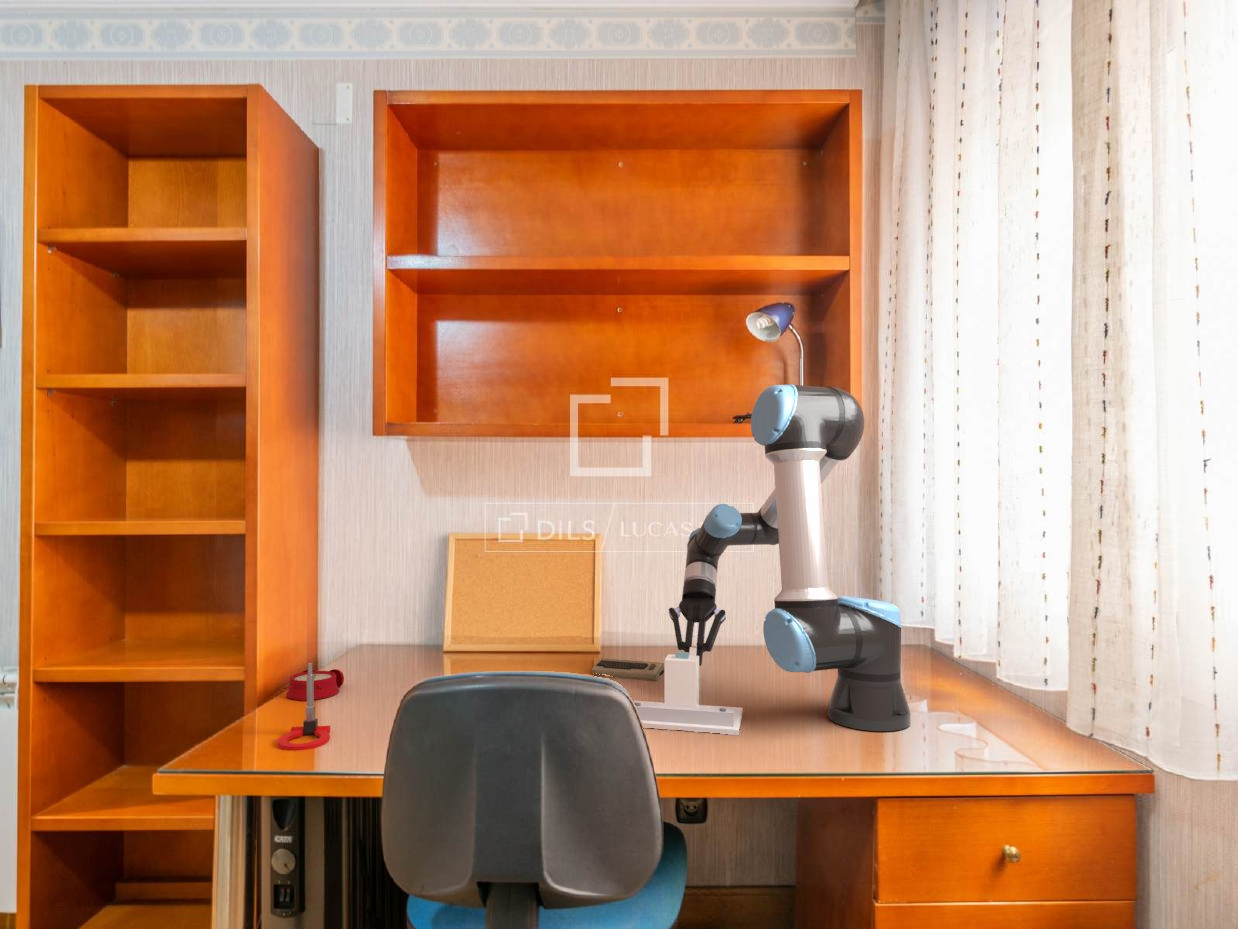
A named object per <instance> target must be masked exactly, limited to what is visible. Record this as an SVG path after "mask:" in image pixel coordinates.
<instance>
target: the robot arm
mask: <svg viewBox="0 0 1238 929" xmlns="http://www.w3.org/2000/svg"><path fill="white" fill-rule="evenodd" d="M750 418H751V419H750V432H751V436H752V437H753V439H754V441H755V442H756V443H757V444H758V445H760V446H763V447H764V455H765V458H766V459H767V460H768V461H769V462H771V463H772V465H773V473H774V489H773V491H772V492H771V493H770V494H769V496H768V497H767V499H766V500H765V502H764V503H763V504H762V505H761V507H760V509H759V510H758V511H757V512H740V511H739V510H738V509H737V508H736V507H734V506H730V505H728V504H727V503H719V504H716V505H715V506H713V508H712V509H711V510H710V511H709V512H708V514H707V515H706V516H705V518H704V520H703V523H702V524H701V526H700V527H699V528H696V529H695V530H692V532H690V535H689V537H688V541H687V545H686V546H687V547H686V561H685V570H684V577H683V587H682V595H681V601H680V602H679V604H678V606H677V607H674V608H673V607H669V608H668V615H669V618H670V619H671V621H672V623H673V628H674V634H675V639H676V646H677V649H678V651H683V652H689V655H693V656H699V667H700V666H702V665H703V654H704V653H705V652H708V653H710V652H712V649H713V647H714V644H715V642H716V640H717V636H718V634H719V631H720V627H721V625H722V624H723V623H724V622H725V621H726V620H727V619H726V618H727V617H726V616H727V615H726V610H725V609H719V608H717V604H716V595H717V594H716V593H717V589H716V588H717V583H718V582H717V580H718V579H717V578H718V568H719V560H720V558H721V556H722V554H723V553H724V552H725V550H726V549H727V548H728V546H753V545H757V546H759V545H770V546H776V545H778V547H779V549H778V550H779V552H778V553H779V566H780V568H779V569H780V579H781V580H780V582H781V589H780V591H779V593H778V594H776V596H775V597H774V599H773V600H774V601H773V602H774V608H773V609H771V610H770V611H768V612H767V613H766V615H765V620H764V621H763V628H762V629H763V630H762V632H763V639H764V643H765V646H766V648H767V651H768V653H769V656H770V657H771V658H772V660H773V661H774V663H775V664H776V665H777V666H778V667H779V668H780V669H782V670H783V671H785V672H789V673H805V674H810V673H812V672H817V671H818V672H820V671H828V670H837V677H836V680H835V683H834V686H833V689H832V693H831V695H830V699H829V702H828V706H827V716H828V718H829V719H830V720H831V721H832V722H833V723H835V724H838V725H840V726H842V727H843V726H844V727H847V728H850V729H856V730H861V731H862V730H863V731H867V732H868V731H869V732H870V731H871V732H893V731H894V732H895V731H901V730H905V729H907V728H908V727H910V726H911V724H912V723H911V722H912V720H911V719H912V718H911V716H912V714H911V709H910V706H909V704H908V699H907V696H906V694H905V690H904V688H903V684H902V681H901V680H902V678H901V677H902V676H901V675H902V672H901V670H902V668H901V667H902V666H901V665H902V664H901V662H902V661H901V659H902V658H901V654H902V652H901V651H902V647H901V646H902V628H903V626H902V624H901V612H900V609H899V607H898V606H896V604H893V603H891V602H888V601H887V602H886V601H882V600H876V599H871V598H864V597H855V596H845V595H844V596H839V597H838V596H837V595H836V594H835V593H834V592H833V591H832V590H831V589H830V587H829V577H828V566H827V565H828V563H827V552H826V551H827V550H826V537H825V524H824V523H825V521H824V509H823V508H824V507H823V496H822V495H823V494H822V484H823V483H824V481H825V480H826V478H828V476H829V475H830V474H831V472H833V470H834V468H835V467H836V466H837V465H838V464H839V462H842V461H845V460H848V459H849V458H850V456H851V455H852V454H853V453H854V451H855V450H856V449H857V447H858V446H859V445H860V442H861V440H862V437H863V434H864V430H865V415H864V411H863V409H862V407H861V404H860V403H859V401H858V399H856V397H855V396H854V395H852V394H851V393H850V392H848V391H847V390H844V389H843V388H839V387H834V386H833V387H831V386H827V387H826V386H815V385H814V386H813V385H812V386H811V385H799V384H791V383H790V384H789V383H788V384H773V385H771V386H768V387H766V388H765V389H764V390H763V391H762V392H761V393H760V395H758V397H757V399H756V402H755V403H754V405H753V408H752V412H751V417H750ZM681 614H682V615H683V617H684V618H685V620H686V628H685V630H686V631H685V638H684V641H683V638H682V631H681V625H680V621H679V620H680V619H679V618H680V616H681ZM713 616H714V618H713V622H712V623H711V627H710V630H709V632H708V635H707V637H706V640H705V633H706V632H705V631H706V626H707V625H706V624H707V623H706V622H708V621H709V620H710V619H711V618H712V617H713ZM696 623H698V627H697V628H698V630H697V638H696V647H693V646H692V645H693V637H694V627H695V624H696Z"/></svg>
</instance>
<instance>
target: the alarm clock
mask: <svg viewBox="0 0 1238 929" xmlns="http://www.w3.org/2000/svg"><path fill="white" fill-rule="evenodd" d="M312 674H313V675H314V701H315V700H321V699H328V698H330V697H334V696H335V695H337V694H339V692H340V688H341V687H342V686H343V684H344V681H345V676H344V674H343V672H342V671H341V670H340V669H338V668H334V669H331V670H316V669H313V668H312ZM307 675H308V669H306V670H305V669H304V670H303V671H302V672H300V673H295V674H293V675H291V676H290V678H289V686H286V687H284V690H287V689H288V690H287V692H286V697H287V698H288V699H291V700H296V701H297V700H298V701H301V702H306V703H307Z"/></svg>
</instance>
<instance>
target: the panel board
mask: <svg viewBox="0 0 1238 929" xmlns="http://www.w3.org/2000/svg"><path fill="white" fill-rule="evenodd" d="M633 701H634V704H635V705H636V707H637V711H638V712H639V715H640V719H641V721H642V722H643V726H644V729H645V726H647V727H654V728H661V729H678V730H688V731H695V732H694V733H698V732H710V733H709V734H712V733H720V734H719V735H725V734H728V735H729V736H739V733H740V730H741V729H740V728H741V723H742V718H743V711H744V708H743V707H737V706H736V707H735V706H720V705H719V706H718V705H709V704H708V705H706V704H705V705H703V704H699V708H697V707H682V706H666V705H664V702H661V701H659V702H658V701H644V700H643V701H642V700H633ZM739 729H740V730H739Z"/></svg>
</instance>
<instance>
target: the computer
mask: <svg viewBox="0 0 1238 929" xmlns="http://www.w3.org/2000/svg"><path fill="white" fill-rule="evenodd" d="M592 672H593V673H594V674H593V675H599V674H600V676H599V677H604V678H605V677H606V676H605V675H602V674H606V675H610V676H613V677H612V678H616V677H619V678H618V679H627V678H632V679H631V680H642V681H643V680H644V681H653V682H655V681H658V680H659V679H660V678H661V677H662V676H663V674H664V675H665V662H660V661H659V662H657V661H645V660H644V661H643V660H631V659H630V660H629V659H628V660H627V659H617V658H604V657H603V658H600V659H599V660H598V661H597V662H596V663H595V664H594V665H593V667H592V669H591V673H592ZM596 673H597V674H596ZM606 678H607V677H606Z"/></svg>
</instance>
